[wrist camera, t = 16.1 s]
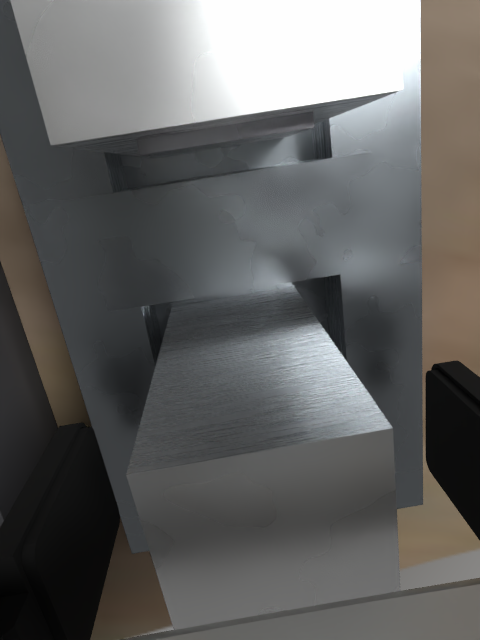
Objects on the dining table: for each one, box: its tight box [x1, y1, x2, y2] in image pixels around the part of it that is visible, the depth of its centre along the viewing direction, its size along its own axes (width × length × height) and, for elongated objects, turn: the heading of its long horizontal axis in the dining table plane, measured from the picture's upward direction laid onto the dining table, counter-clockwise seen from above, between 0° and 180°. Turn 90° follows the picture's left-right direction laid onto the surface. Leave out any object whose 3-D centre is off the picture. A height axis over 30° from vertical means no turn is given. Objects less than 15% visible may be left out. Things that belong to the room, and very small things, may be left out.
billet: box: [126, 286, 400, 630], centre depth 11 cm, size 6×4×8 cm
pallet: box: [0, 0, 423, 554], centre depth 13 cm, size 20×10×3 cm, turn 9°
